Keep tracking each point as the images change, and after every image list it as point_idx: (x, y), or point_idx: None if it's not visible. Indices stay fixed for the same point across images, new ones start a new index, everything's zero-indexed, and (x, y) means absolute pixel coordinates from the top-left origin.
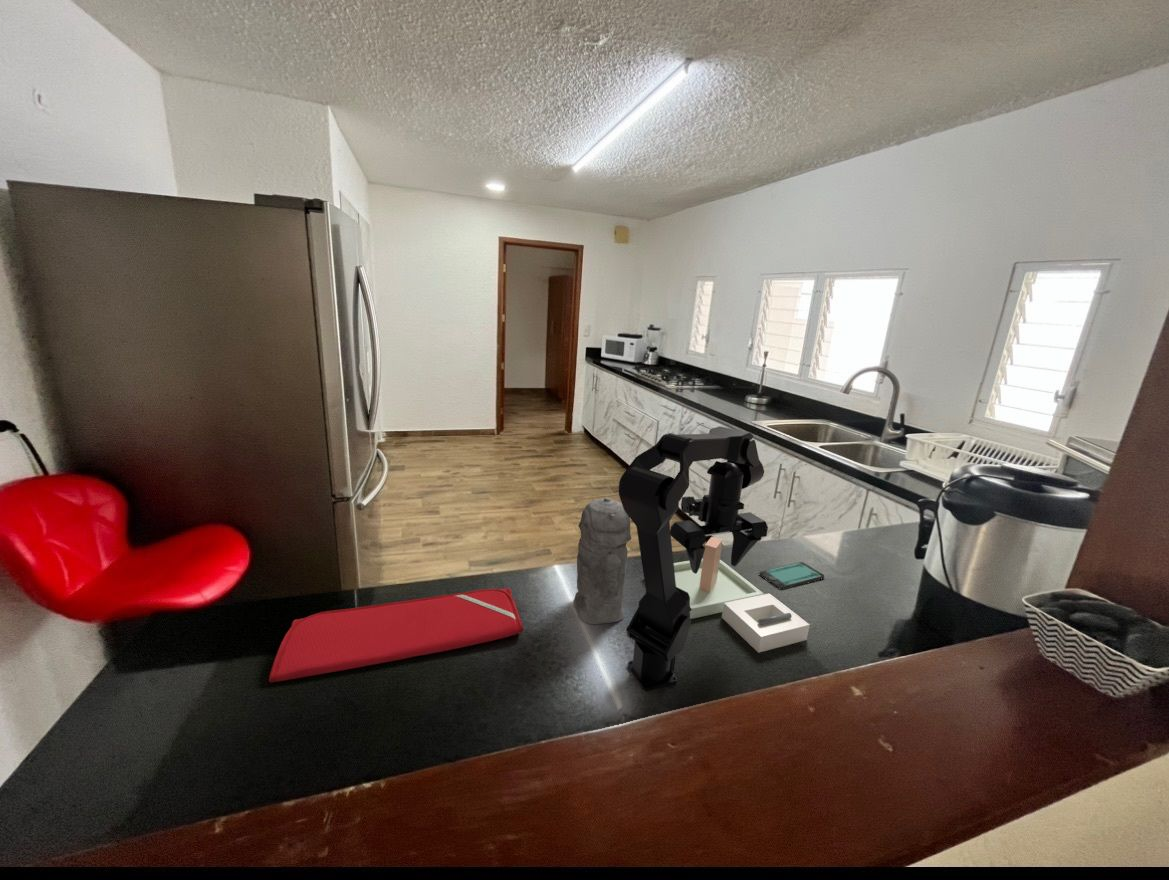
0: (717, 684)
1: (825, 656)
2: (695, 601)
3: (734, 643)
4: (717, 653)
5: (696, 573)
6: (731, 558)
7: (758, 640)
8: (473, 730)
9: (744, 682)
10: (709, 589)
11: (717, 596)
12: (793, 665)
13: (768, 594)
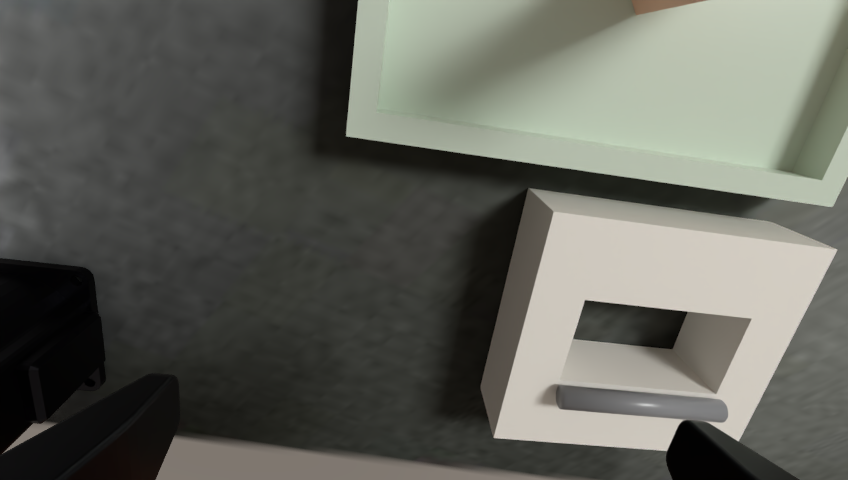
0: (240, 429)
1: (656, 466)
2: (489, 50)
3: (441, 324)
4: (339, 337)
5: (176, 423)
6: (731, 468)
7: (490, 412)
8: None
9: (329, 450)
10: (642, 9)
11: (637, 70)
12: (531, 457)
13: (822, 255)
